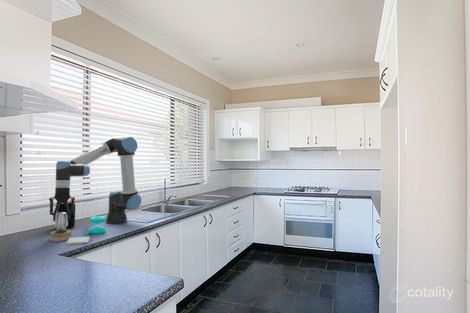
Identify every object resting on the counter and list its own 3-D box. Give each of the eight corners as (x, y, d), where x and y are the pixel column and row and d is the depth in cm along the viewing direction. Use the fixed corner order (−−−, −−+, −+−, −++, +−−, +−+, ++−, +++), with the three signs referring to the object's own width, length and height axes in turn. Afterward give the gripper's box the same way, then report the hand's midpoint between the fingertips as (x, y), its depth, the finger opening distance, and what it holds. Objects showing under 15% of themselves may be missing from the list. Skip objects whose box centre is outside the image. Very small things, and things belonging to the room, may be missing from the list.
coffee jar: (78, 226, 212) (78, 200, 213) (68, 229, 202) (68, 202, 202) (63, 225, 214) (64, 199, 214) (53, 228, 203) (54, 201, 203)
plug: (66, 233, 184) (67, 212, 184) (65, 235, 179) (65, 213, 179) (57, 234, 182) (58, 212, 182) (55, 236, 177) (56, 213, 177)
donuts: (100, 215, 204) (109, 217, 199) (99, 229, 204) (108, 232, 199) (86, 217, 196) (95, 219, 190) (85, 232, 196) (94, 235, 190)
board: (90, 238, 183) (90, 236, 183) (88, 243, 173) (88, 241, 173) (69, 239, 179) (69, 237, 179) (66, 244, 169) (66, 242, 169)
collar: (72, 235, 187) (72, 229, 187) (69, 240, 177) (69, 233, 177) (52, 236, 183) (52, 230, 183) (48, 241, 174) (48, 234, 174)
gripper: (43, 187, 174) (42, 228, 174) (78, 187, 180) (77, 226, 180) (46, 186, 181) (45, 225, 181) (80, 186, 187) (79, 224, 187)
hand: (61, 226), depth 180 cm, fingers closed on plug, 5 cm apart
